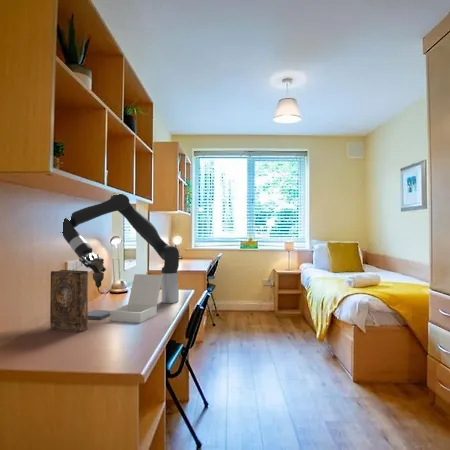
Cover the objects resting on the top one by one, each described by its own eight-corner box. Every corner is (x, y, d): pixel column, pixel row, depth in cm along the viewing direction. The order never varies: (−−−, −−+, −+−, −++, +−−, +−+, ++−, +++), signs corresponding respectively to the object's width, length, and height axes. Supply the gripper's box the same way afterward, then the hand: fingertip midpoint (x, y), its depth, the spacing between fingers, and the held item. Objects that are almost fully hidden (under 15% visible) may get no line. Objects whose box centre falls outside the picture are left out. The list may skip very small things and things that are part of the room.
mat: (94, 312, 186) (94, 309, 186) (115, 314, 183) (115, 311, 183) (79, 318, 175) (79, 314, 175) (101, 319, 172) (101, 316, 172)
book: (89, 329, 155) (89, 271, 156) (80, 332, 150) (80, 272, 151) (60, 325, 161) (60, 269, 161) (50, 328, 156) (50, 271, 156)
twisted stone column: (92, 288, 176) (92, 257, 176) (91, 286, 181) (91, 257, 181) (104, 288, 178) (104, 257, 178) (103, 286, 183) (103, 256, 183)
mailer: (135, 309, 192) (135, 274, 193) (162, 311, 188) (162, 275, 188) (110, 320, 170) (110, 279, 171) (140, 322, 166) (140, 281, 166)
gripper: (75, 242, 175) (96, 267, 171) (94, 241, 188) (114, 265, 185) (66, 253, 176) (87, 278, 173) (85, 251, 190) (105, 275, 186)
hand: (101, 271), depth 179 cm, fingers closed on twisted stone column, 5 cm apart
